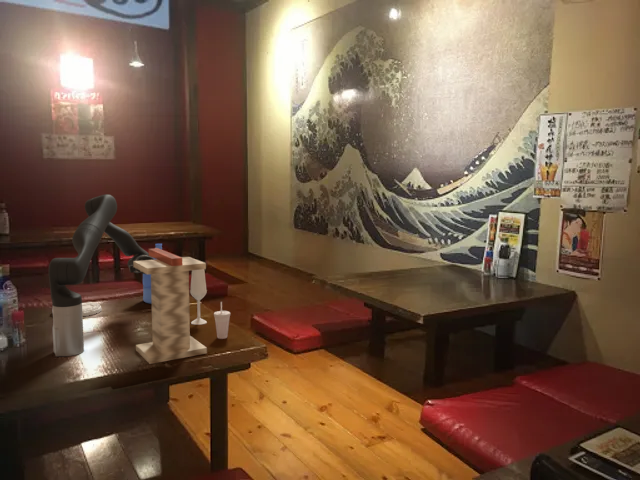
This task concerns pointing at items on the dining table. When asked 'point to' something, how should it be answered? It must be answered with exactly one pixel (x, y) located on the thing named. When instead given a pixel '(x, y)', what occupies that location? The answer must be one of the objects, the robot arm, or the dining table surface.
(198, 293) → the champagne flute
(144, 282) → the water jug
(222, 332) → the smoothie
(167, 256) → the lacquered bar
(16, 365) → the dining table surface
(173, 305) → the beech pedestal
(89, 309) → the embossed medallion
